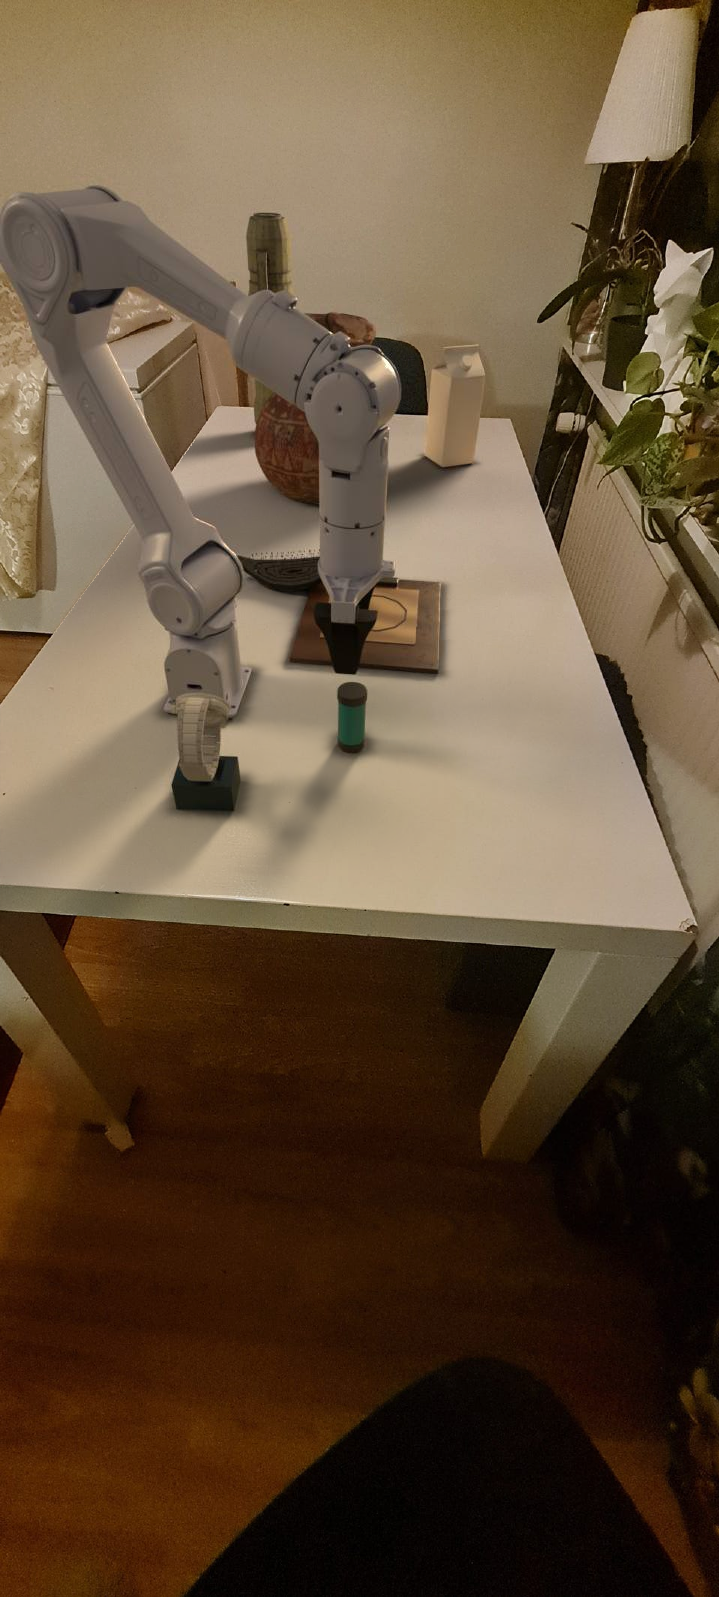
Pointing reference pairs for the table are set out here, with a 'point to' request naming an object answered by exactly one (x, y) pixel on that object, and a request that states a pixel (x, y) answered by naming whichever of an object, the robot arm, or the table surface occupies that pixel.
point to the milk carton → (455, 406)
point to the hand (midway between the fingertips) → (349, 650)
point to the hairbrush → (284, 571)
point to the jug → (300, 425)
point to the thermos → (268, 269)
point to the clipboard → (383, 628)
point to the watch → (203, 755)
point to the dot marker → (351, 716)
